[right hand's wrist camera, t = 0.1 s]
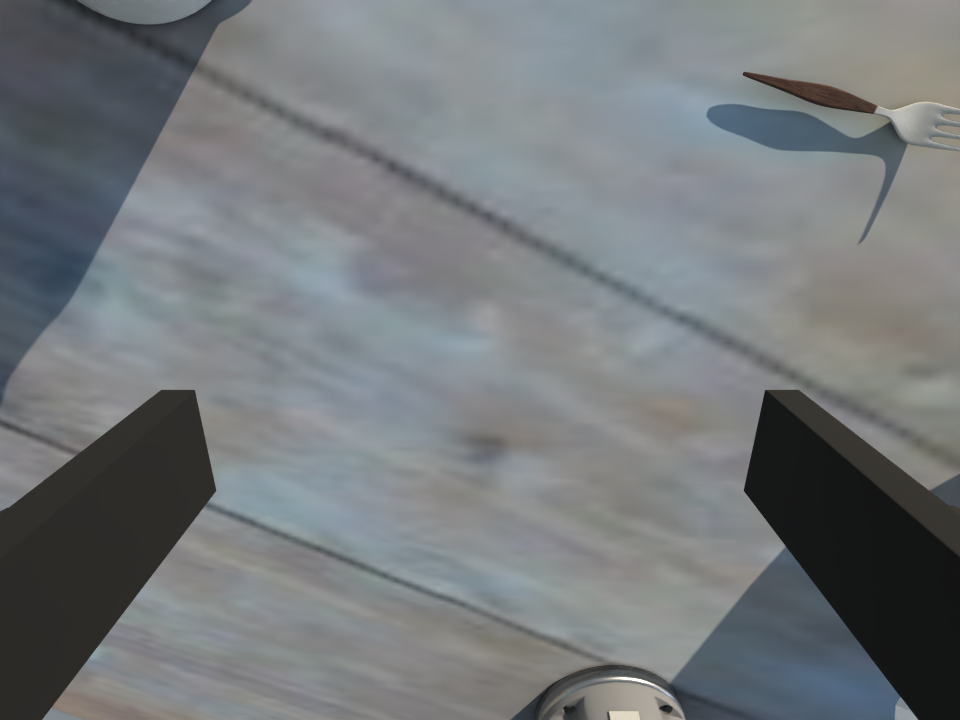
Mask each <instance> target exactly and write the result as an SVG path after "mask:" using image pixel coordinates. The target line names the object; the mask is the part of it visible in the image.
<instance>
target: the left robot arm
mask: <svg viewBox="0 0 960 720" xmlns="http://www.w3.org/2000/svg"><path fill="white" fill-rule="evenodd" d="M77 1H79V2H80V3H82V4H83V5H85V6H87V7H89V8H90V9H92V10H94V11H96V12H98V13H100V14H103V15H105V16H108V17H110V18H113V19H116V20H120V21H124V22H128V23H134V24H146V25H151V24H163V23H169V22H173V21H176V20H180V19H182V18H185V17H187V16H189V15H191V14H193V13H195V12H197V11H198V10H200V9H201V8H203V7H204V6H206V5H207V4H208V3H209V2H210V1H212V0H77Z"/></svg>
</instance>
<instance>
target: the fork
mask: <svg viewBox="0 0 960 720" xmlns="http://www.w3.org/2000/svg"><path fill="white" fill-rule="evenodd" d="M743 75H744V76H746V77H748V78H751V79H753V80H756V81H758V82H761V83H764V84H766V85H769V86H772V87H774V88H777V89H779V90H782V91H784V92H787V93H789V94H792V95H794V96H796V97H799V98H801V99H803V100H806V101H808V102H811V103H814V104H817V105H820V106H824V107H829V108H835V109H842V110H849V111H856V112H864V113H871V114H877V115H882V116H885V117H887V118H888V119H889V120H890V121H891V123H892V125H893V127H894V129H895V131H896V132H897V134H898V136H899V137H900V138H901V139H902V140H903V141H904V142H906V143H908V144H911V145H915V146H922V147H930V148H937V149H945V150H952V151H960V148H958V147H954V146H950V145H946V144H941V143H937V142H934V141H932V140H931V137H945V138H953V139H960V135H958V134H953V133H949V132H945V131H941V130H938V129H937V128H936V127H937V126H938V125H947V126H955V127H960V122H957V121H953V120H949V119H945V118H943V117H942V115H943V114H959V115H960V109H957V108H953V107H949V106H945V105H941V104H937V103H932V102H919V103H914V104H911V105H908V106H905V107H903V108H900V109H896V110H888V109H884V108H882V107H879V106H877V105H875V104H872V103H870V102H868V101H866V100H863V99H861V98H859V97H857V96H854V95H852V94H850V93H847V92H845V91H842V90H840V89H837V88H834V87H831V86H827V85H821V84H815V83H809V82H802V81H795V80H788V79H782V78H777V77H771V76H765V75H760V74H754V73H748V72H744V73H743Z"/></svg>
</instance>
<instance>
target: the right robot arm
mask: <svg viewBox="0 0 960 720" xmlns="http://www.w3.org/2000/svg"><path fill="white" fill-rule="evenodd" d="M215 492H216V487H215V483H214V478H213V473H212V469H211V464H210V459H209V455H208V450H207V445H206V440H205V436H204V431H203V426H202V422H201V417H200V412H199V408H198V403H197V398H196V394H195V390H161V391H159V392H158V393H157V394H156V395H154V396H153V397H152V398H150V399H149V400H148V401H147V402H145V403H144V404H143V405H141V406H140V407H139V408H137V409H136V410H135V411H134V412H132V413H131V414H130V415H128V416H127V417H126V418H124V419H123V420H122V421H121V422H119V423H118V424H117V425H115V426H114V427H113V428H112V429H110V430H109V431H108V432H106V433H105V434H104V435H102V436H101V437H100V438H99V439H97V440H96V441H95V442H93V443H92V444H91V445H90V446H88V447H87V448H86V449H84V450H83V451H82V452H80V453H79V454H78V455H77V456H75V457H74V458H73V459H71V460H70V461H69V462H68V463H66V464H65V465H64V466H62V467H61V468H60V469H58V470H57V471H56V472H55V473H53V474H52V475H51V476H49V477H48V478H47V479H46V480H44V481H43V482H42V483H40V484H39V485H38V486H36V487H35V488H34V489H33V490H31V491H30V492H29V493H27V494H26V495H25V496H23V497H22V498H21V499H20V500H18V501H17V502H16V503H14V504H13V505H12V506H11V507H9V508H6V509H4V510H2V511H0V720H42V719H43V718H44V716H45V715H46V714H47V712H48V711H49V710H50V709H51V707H52V706H53V705H54V703H55V702H56V701H57V699H58V698H59V697H60V695H61V694H62V693H63V691H64V690H65V689H66V687H67V686H68V685H69V684H70V682H71V681H72V680H73V678H74V677H75V676H76V674H77V673H78V672H79V670H80V669H81V668H82V666H83V665H84V664H85V663H86V661H87V660H88V659H89V657H90V656H91V655H92V653H93V652H94V651H95V649H96V648H97V647H98V645H99V644H100V643H101V641H102V640H103V639H104V638H105V636H106V635H107V634H108V632H109V631H110V630H111V628H112V627H113V626H114V624H115V623H116V622H117V620H118V619H119V618H120V617H121V615H122V614H123V613H124V611H125V610H126V609H127V607H128V606H129V605H130V603H131V602H132V601H133V599H134V598H135V597H136V595H137V594H138V593H139V592H140V590H141V589H142V588H143V586H144V585H145V584H146V582H147V581H148V580H149V578H150V577H151V576H152V574H153V573H154V572H155V571H156V569H157V568H158V567H159V565H160V564H161V563H162V561H163V560H164V559H165V557H166V556H167V555H168V553H169V552H170V551H171V549H172V548H173V547H174V546H175V544H176V543H177V542H178V540H179V539H180V538H181V536H182V535H183V534H184V532H185V531H186V530H187V528H188V527H189V526H190V525H191V523H192V522H193V521H194V519H195V518H196V517H197V515H198V514H199V513H200V511H201V510H202V509H203V507H204V506H205V505H206V503H207V502H208V501H209V500H210V498H211V497H212V496H213V494H214V493H215ZM744 492H745V493H746V494H747V496H748V497H749V498H750V500H751V501H752V502H753V503H754V505H755V506H756V507H757V509H758V510H759V511H760V513H761V514H762V515H763V517H764V518H765V519H766V521H767V522H768V523H769V525H770V526H771V527H772V528H773V530H774V531H775V532H776V534H777V535H778V536H779V538H780V539H781V540H782V542H783V543H784V544H785V546H786V547H787V548H788V549H789V551H790V552H791V553H792V555H793V556H794V557H795V559H796V560H797V561H798V563H799V564H800V565H801V567H802V568H803V569H804V571H805V572H806V573H807V574H808V576H809V577H810V578H811V580H812V581H813V582H814V584H815V585H816V586H817V588H818V589H819V590H820V592H821V593H822V594H823V595H824V597H825V598H826V599H827V601H828V602H829V603H830V605H831V606H832V607H833V609H834V610H835V611H836V613H837V614H838V615H839V617H840V618H841V619H842V620H843V622H844V623H845V624H846V626H847V627H848V628H849V630H850V631H851V632H852V634H853V635H854V636H855V638H856V639H857V640H858V641H859V643H860V644H861V645H862V647H863V648H864V649H865V651H866V652H867V653H868V655H869V656H870V657H871V659H872V660H873V661H874V663H875V664H876V665H877V666H878V668H879V669H880V670H881V672H882V673H883V674H884V676H885V677H886V678H887V680H888V681H889V682H890V684H891V685H892V686H893V687H894V689H895V690H896V691H897V693H898V694H899V695H900V697H901V698H902V699H903V701H904V702H905V703H906V705H907V706H908V707H909V709H910V710H911V711H912V712H913V714H914V715H915V716H916V718H917V719H918V720H960V509H958V508H956V507H954V506H948V505H947V504H946V503H944V502H943V501H942V500H940V499H939V498H938V497H937V496H935V495H934V494H933V493H931V492H930V491H929V490H927V489H926V488H925V487H924V486H922V485H921V484H920V483H918V482H917V481H916V480H914V479H913V478H912V477H911V476H909V475H908V474H907V473H905V472H904V471H903V470H902V469H900V468H899V467H898V466H896V465H895V464H894V463H892V462H891V461H890V460H889V459H887V458H886V457H885V456H883V455H882V454H881V453H880V452H878V451H877V450H876V449H874V448H873V447H872V446H870V445H869V444H868V443H867V442H865V441H864V440H863V439H861V438H860V437H859V436H858V435H856V434H855V433H854V432H852V431H851V430H850V429H848V428H847V427H846V426H845V425H843V424H842V423H841V422H839V421H838V420H837V419H836V418H834V417H833V416H832V415H830V414H829V413H828V412H826V411H825V410H824V409H823V408H821V407H820V406H819V405H817V404H816V403H815V402H813V401H812V400H811V399H810V398H808V397H807V396H806V395H804V394H803V393H802V392H801V391H799V390H765V394H764V398H763V403H762V408H761V412H760V417H759V422H758V426H757V431H756V436H755V440H754V445H753V450H752V455H751V459H750V464H749V469H748V473H747V478H746V483H745V487H744ZM535 720H686V717H685V714H684V711H683V709H682V706H681V703H680V700H679V698H678V696H677V694H676V692H675V691H674V689H673V688H672V687H671V686H670V685H669V684H668V683H667V682H666V681H665V680H663V679H662V678H661V677H659V676H657V675H655V674H653V673H651V672H649V671H646V670H643V669H640V668H636V667H630V666H622V665H607V666H598V667H592V668H588V669H584V670H581V671H578V672H576V673H573V674H571V675H569V676H567V677H565V678H563V679H562V680H560V681H558V682H557V683H556V684H554V685H553V686H552V687H551V688H550V689H549V690H548V691H547V692H546V693H545V694H544V696H543V697H542V698H541V700H540V702H539V704H538V706H537V709H536V712H535Z"/></svg>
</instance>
